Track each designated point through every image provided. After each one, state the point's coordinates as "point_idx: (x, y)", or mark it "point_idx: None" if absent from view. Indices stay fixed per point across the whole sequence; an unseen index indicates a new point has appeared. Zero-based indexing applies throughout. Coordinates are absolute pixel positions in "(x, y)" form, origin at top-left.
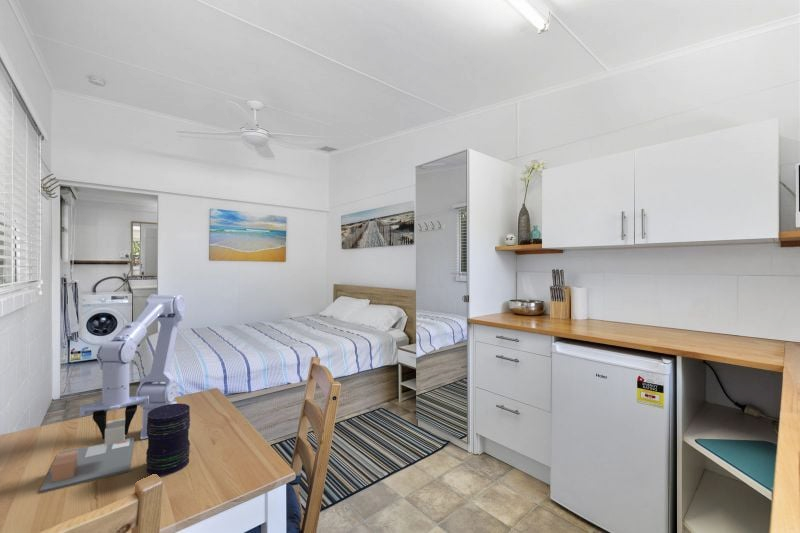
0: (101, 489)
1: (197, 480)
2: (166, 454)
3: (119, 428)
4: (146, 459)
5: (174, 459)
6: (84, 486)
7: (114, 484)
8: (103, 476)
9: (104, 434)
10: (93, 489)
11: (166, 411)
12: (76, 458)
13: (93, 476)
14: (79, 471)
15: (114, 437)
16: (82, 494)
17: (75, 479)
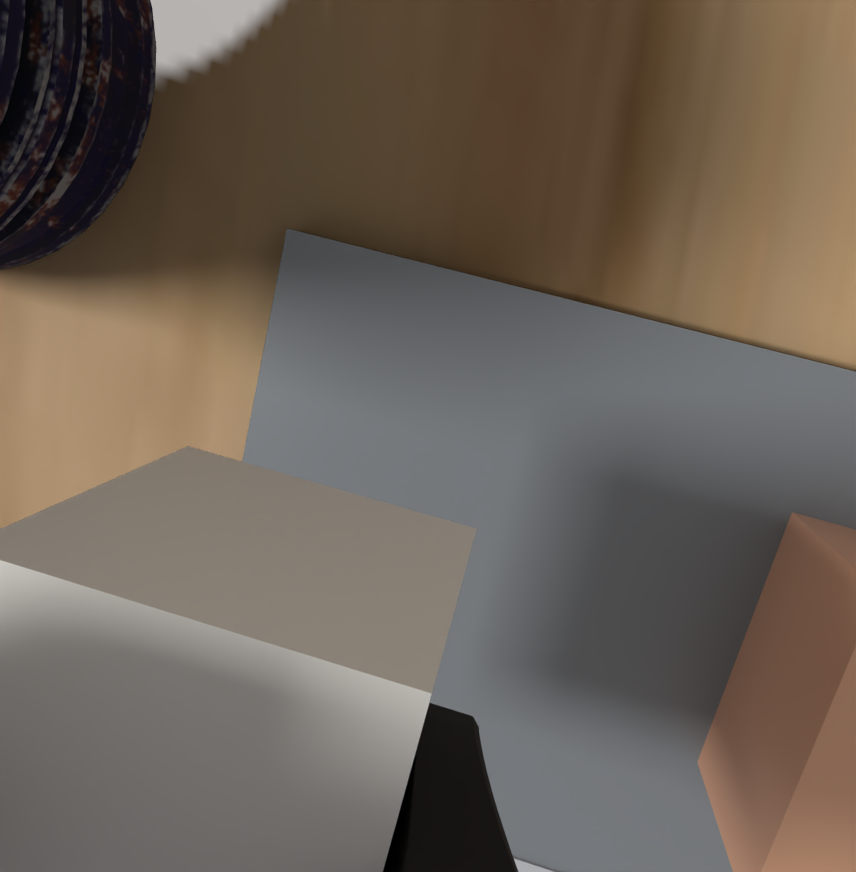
0: (603, 2)
1: None
2: None
3: (84, 577)
4: (62, 16)
5: None
6: (728, 232)
7: (473, 21)
8: (535, 291)
9: (437, 755)
10: (669, 74)
11: None
12: (770, 757)
13: (625, 347)
14: (715, 599)
15: (287, 523)
16: (785, 37)
17: (787, 429)
